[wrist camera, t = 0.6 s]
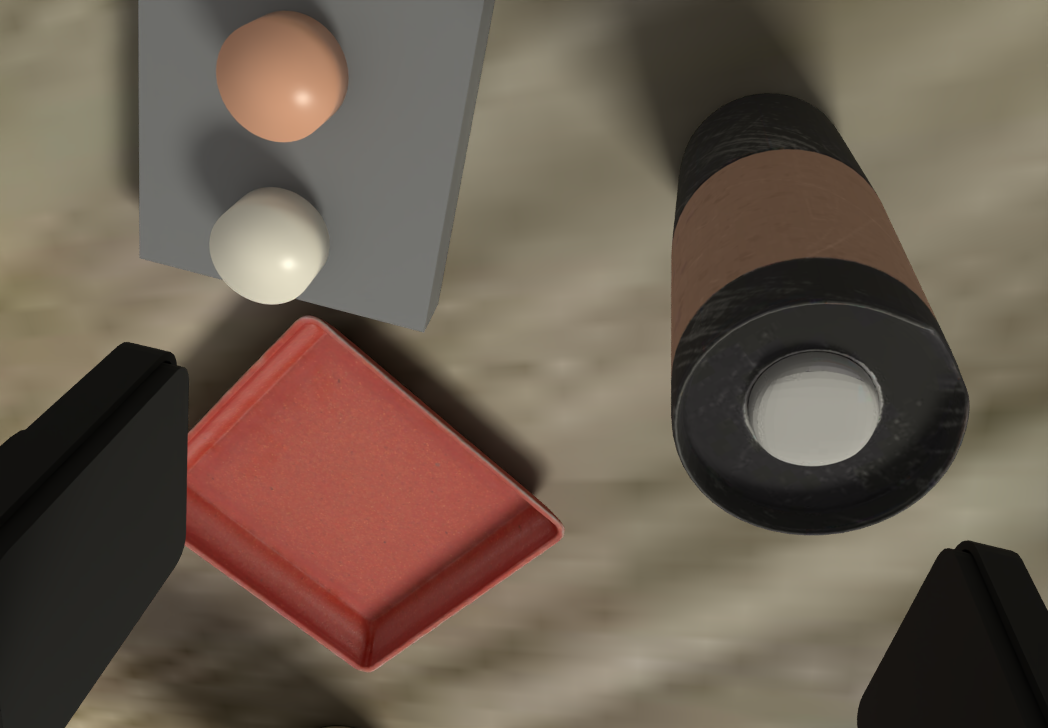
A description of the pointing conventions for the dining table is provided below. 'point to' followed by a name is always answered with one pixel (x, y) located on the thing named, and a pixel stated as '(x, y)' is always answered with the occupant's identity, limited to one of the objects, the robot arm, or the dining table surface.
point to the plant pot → (337, 727)
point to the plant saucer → (351, 499)
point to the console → (319, 143)
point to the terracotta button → (282, 75)
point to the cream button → (269, 245)
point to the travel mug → (801, 331)
